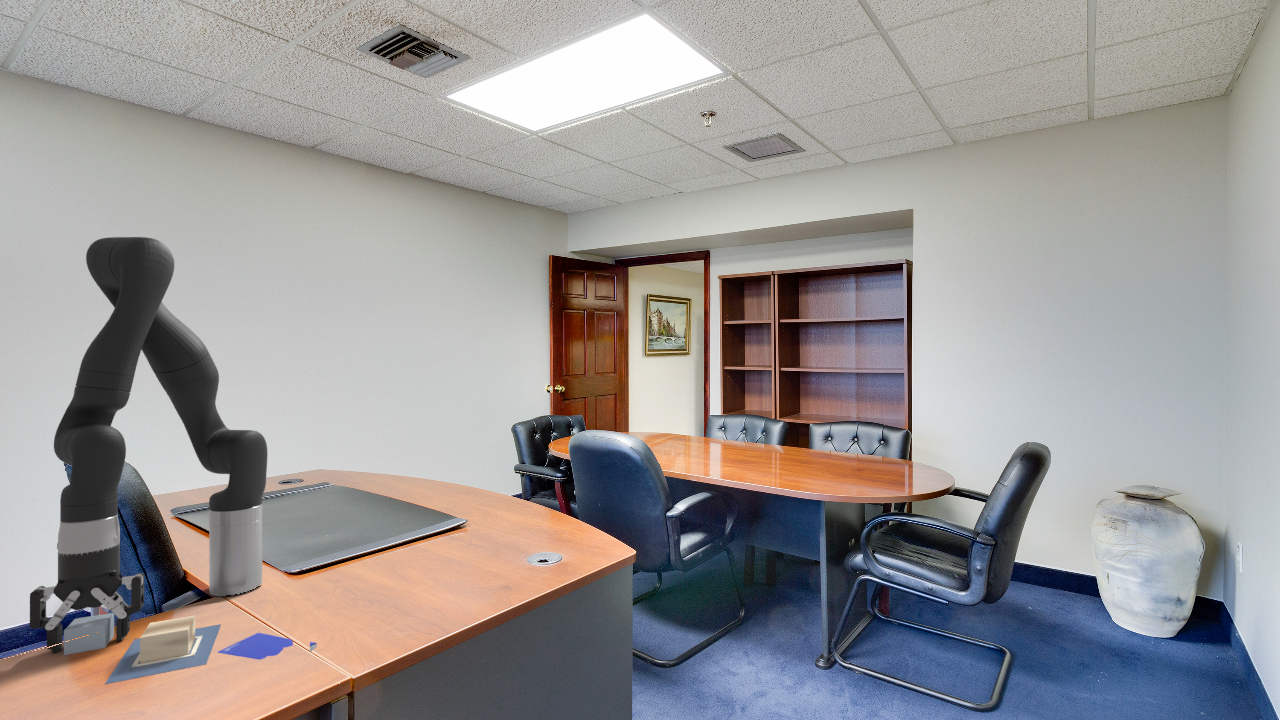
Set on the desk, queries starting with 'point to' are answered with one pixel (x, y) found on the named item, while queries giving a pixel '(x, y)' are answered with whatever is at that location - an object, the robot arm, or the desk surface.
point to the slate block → (89, 633)
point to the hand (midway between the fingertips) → (89, 644)
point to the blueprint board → (196, 657)
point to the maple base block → (167, 639)
